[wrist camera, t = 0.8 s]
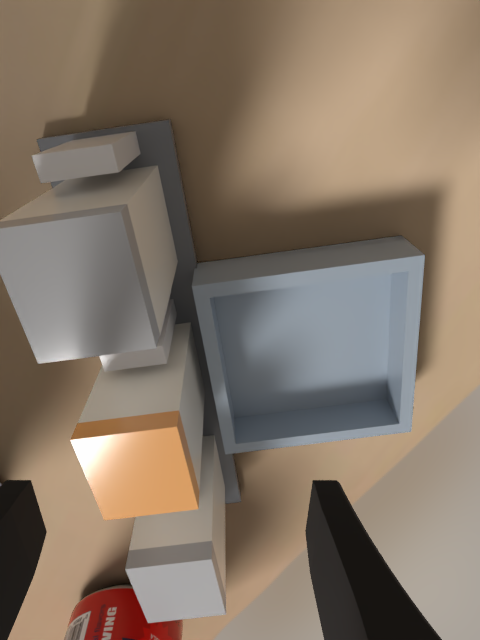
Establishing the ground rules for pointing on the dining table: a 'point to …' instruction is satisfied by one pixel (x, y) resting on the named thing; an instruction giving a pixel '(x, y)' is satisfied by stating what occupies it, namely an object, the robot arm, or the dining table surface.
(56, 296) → the block
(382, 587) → the robot arm
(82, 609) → the soda can
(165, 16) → the dining table surface
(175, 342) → the block
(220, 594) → the block
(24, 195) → the dining table surface
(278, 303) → the tray
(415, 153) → the dining table surface
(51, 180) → the board
